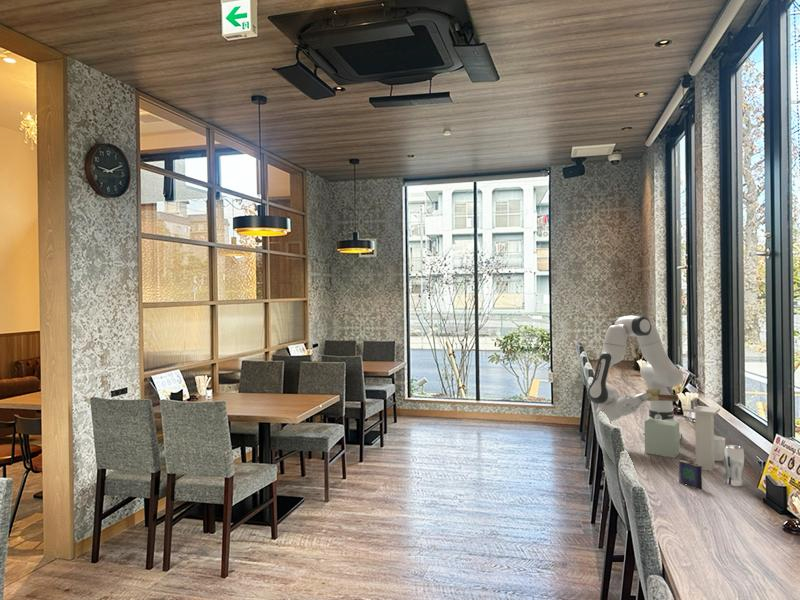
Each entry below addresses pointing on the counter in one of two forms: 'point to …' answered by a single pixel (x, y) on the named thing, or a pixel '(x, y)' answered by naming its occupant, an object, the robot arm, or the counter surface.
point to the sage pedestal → (662, 437)
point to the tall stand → (704, 433)
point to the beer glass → (733, 464)
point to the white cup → (719, 448)
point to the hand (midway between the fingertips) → (653, 393)
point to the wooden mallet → (660, 396)
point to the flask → (690, 473)
